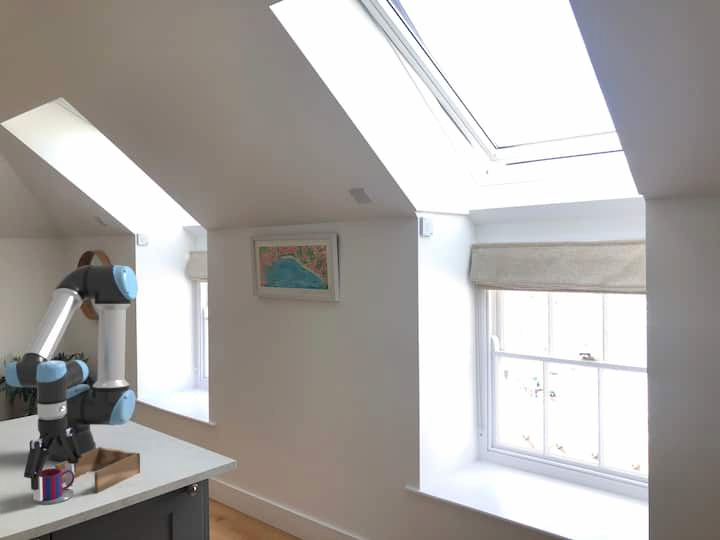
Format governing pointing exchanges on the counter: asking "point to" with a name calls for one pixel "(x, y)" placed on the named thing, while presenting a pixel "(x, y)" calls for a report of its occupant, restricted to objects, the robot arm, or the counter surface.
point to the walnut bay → (106, 466)
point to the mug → (53, 483)
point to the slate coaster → (65, 496)
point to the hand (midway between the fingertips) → (54, 492)
